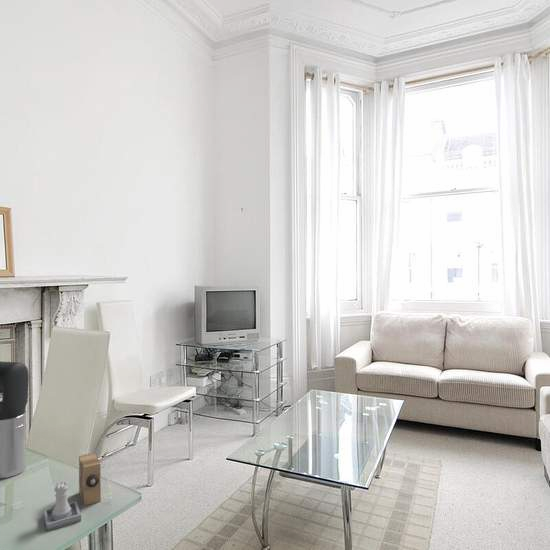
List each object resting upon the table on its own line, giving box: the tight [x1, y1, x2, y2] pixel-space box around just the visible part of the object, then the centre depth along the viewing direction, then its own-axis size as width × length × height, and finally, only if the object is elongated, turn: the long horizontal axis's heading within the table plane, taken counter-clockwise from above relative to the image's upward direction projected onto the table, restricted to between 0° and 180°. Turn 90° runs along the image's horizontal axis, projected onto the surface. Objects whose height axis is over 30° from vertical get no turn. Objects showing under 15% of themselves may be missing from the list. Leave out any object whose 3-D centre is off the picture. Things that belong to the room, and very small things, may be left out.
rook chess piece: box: [52, 481, 72, 521], centre depth 104 cm, size 4×4×8 cm
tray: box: [43, 500, 82, 532], centre depth 105 cm, size 7×7×2 cm
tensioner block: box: [78, 452, 102, 507], centre depth 114 cm, size 9×4×10 cm, turn 33°
